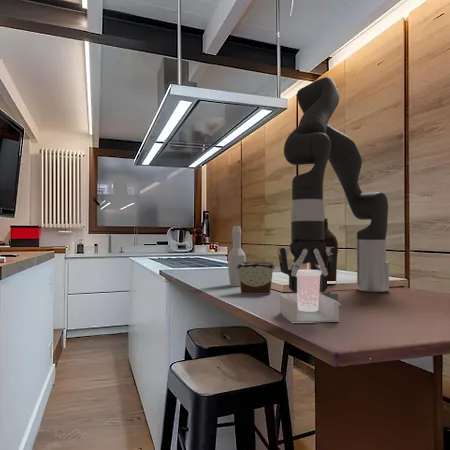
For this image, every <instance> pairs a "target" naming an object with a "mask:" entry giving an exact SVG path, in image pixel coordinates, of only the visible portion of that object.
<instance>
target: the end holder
mask: <svg viewBox="0 0 450 450" xmlns="http://www.w3.org/2000/svg"><path fill="white" fill-rule="evenodd" d="M339 303H340V302H339V300H338V301H336V300H334V299H331V298H329V297H327V296H325V295H323V294H322V293H319V306H318V311H315V312H305V311H300V310H298V300H297V293H293V294H290V293H289V294H284V293H283V294H279V314H280V313H281V314H282V315H284V316H285V317H286V318H288V319H289V320H290V321H292V322H339V323H340V321H339V320H340V319H339V318H340V317H339V316H340V315H339V314H340V313H339V310H340V309H339V308H340V306H339ZM281 314H280V315H281ZM282 315H281V316H282ZM284 316H283V317H284ZM285 317H284V318H285ZM286 318H285V319H286Z"/></svg>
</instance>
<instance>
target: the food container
mask: <svg viewBox="0 0 450 450" xmlns="http://www.w3.org/2000/svg"><path fill="white" fill-rule="evenodd" d="M236 269H239V279H240V286H239V287H240V294H243V295H244V294H245V295H246V294H247V295H271V290H272V280H273V271H274V270H276V266H275V264H274V262H272V261H266V260H265V261H263V260H261V261H260V260H258V261H257V260H251V261H250V260H249V261H248V260H246V261H244V262H238V264H237V268H236Z"/></svg>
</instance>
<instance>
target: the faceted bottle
mask: <svg viewBox="0 0 450 450" xmlns="http://www.w3.org/2000/svg"><path fill="white" fill-rule="evenodd" d="M242 232H243V231H242V227H241V226H240V225H233V227H232V230H231V233H232V235H231V236H232V237H231V238H232V248H231V249H230V251H229V253H228V254H227V268H228V276H229V277H228V278H229V286H231V287H240V279H239V269H236V268H237V264H238V262H244V261H247V260H246V259H247V258H246V257H247V256H246V253H245V252H244V250H243V249H242V246H241V245H242V243H241V242H242Z"/></svg>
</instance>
